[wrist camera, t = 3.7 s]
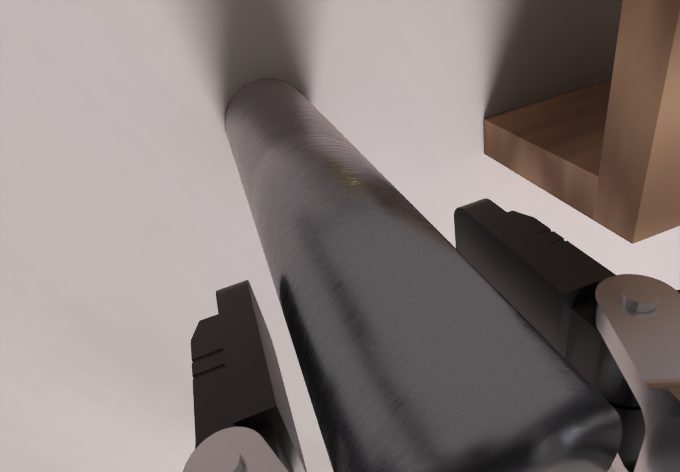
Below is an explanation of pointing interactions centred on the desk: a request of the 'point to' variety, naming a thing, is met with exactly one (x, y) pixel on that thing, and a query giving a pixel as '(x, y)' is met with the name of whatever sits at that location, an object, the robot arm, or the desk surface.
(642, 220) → the bridge
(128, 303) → the desk surface
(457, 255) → the long pin
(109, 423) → the desk surface
